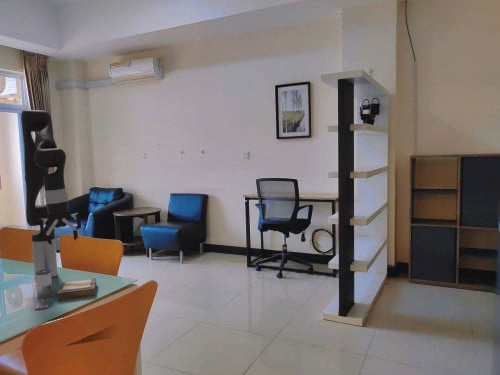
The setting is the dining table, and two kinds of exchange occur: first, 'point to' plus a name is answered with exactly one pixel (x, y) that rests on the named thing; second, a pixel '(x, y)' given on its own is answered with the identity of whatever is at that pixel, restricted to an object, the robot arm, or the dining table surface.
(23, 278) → the dining table surface
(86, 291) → the stand
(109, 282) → the dining table surface
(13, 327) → the dining table surface
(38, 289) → the housing
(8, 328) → the dining table surface
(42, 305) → the bracket plate
